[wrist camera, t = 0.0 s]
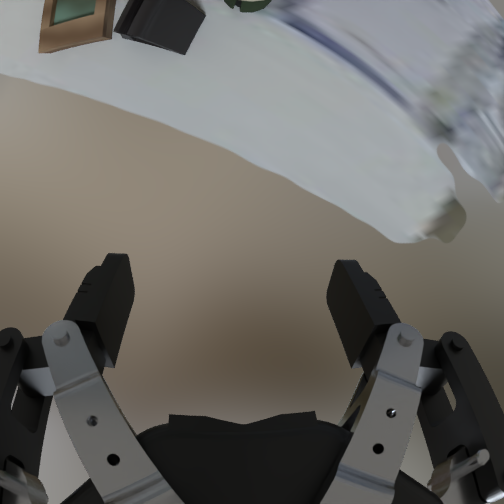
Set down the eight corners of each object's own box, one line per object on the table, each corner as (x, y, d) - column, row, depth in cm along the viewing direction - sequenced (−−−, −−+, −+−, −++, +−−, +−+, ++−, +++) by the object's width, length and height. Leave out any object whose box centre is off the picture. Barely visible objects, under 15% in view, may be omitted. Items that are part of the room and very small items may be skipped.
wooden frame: (62, -27, 17) (51, -32, 15) (124, -44, 18) (117, -52, 16) (50, 53, 25) (38, 53, 22) (111, 39, 26) (102, 36, 23)
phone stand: (206, 16, 26) (197, -11, 16) (185, 55, 29) (166, 44, 19) (143, -1, 24) (111, -28, 14) (123, 38, 26) (83, 25, 16)
